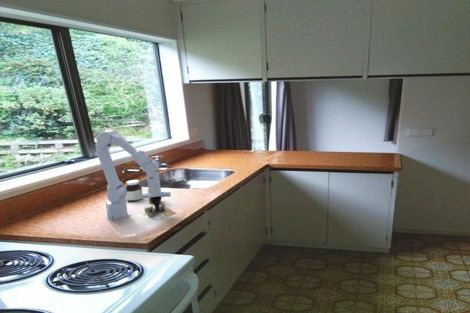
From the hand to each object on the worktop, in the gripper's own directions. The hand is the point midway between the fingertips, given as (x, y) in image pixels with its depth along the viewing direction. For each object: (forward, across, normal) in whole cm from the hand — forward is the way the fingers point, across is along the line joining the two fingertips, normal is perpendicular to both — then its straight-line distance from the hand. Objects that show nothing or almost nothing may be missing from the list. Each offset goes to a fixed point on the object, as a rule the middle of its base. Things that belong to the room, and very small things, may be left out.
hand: (157, 211), depth 160 cm
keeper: (+2, +6, -4) cm, 7 cm away
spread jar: (+2, +23, -28) cm, 37 cm away
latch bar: (+1, +1, -2) cm, 3 cm away
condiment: (+3, +6, -20) cm, 21 cm away
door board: (+3, +2, 0) cm, 4 cm away
